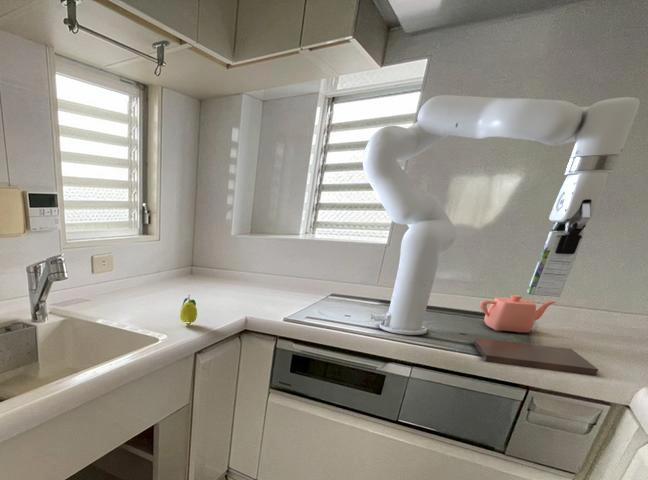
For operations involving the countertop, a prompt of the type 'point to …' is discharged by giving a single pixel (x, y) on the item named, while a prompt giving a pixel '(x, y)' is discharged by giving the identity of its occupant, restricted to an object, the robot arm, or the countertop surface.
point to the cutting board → (534, 356)
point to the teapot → (512, 313)
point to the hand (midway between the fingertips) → (558, 251)
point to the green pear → (188, 311)
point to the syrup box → (552, 268)
